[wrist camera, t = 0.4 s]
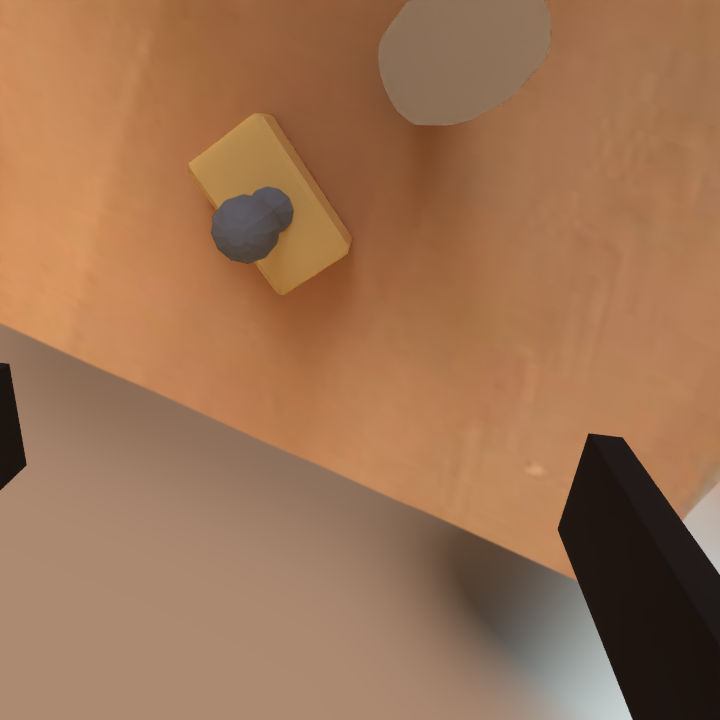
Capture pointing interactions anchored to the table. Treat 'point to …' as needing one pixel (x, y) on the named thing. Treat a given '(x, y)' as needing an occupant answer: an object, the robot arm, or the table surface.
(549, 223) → the table surface
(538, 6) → the handle
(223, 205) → the rubber stamp
